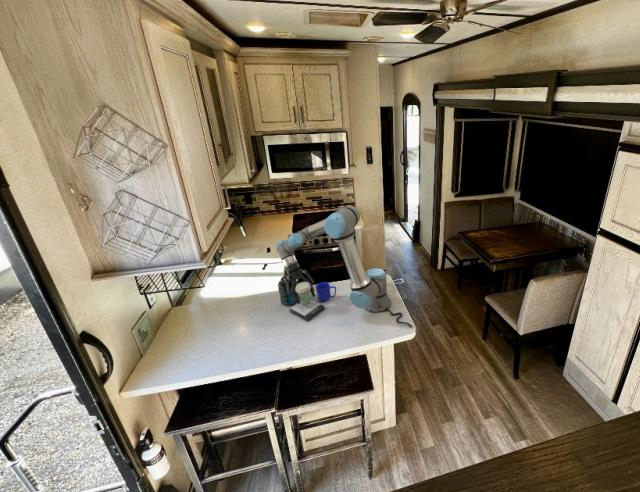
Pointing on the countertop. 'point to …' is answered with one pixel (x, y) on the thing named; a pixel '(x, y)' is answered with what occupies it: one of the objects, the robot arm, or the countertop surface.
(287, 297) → the container
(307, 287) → the coffee cup
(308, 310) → the scale
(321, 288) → the mug
